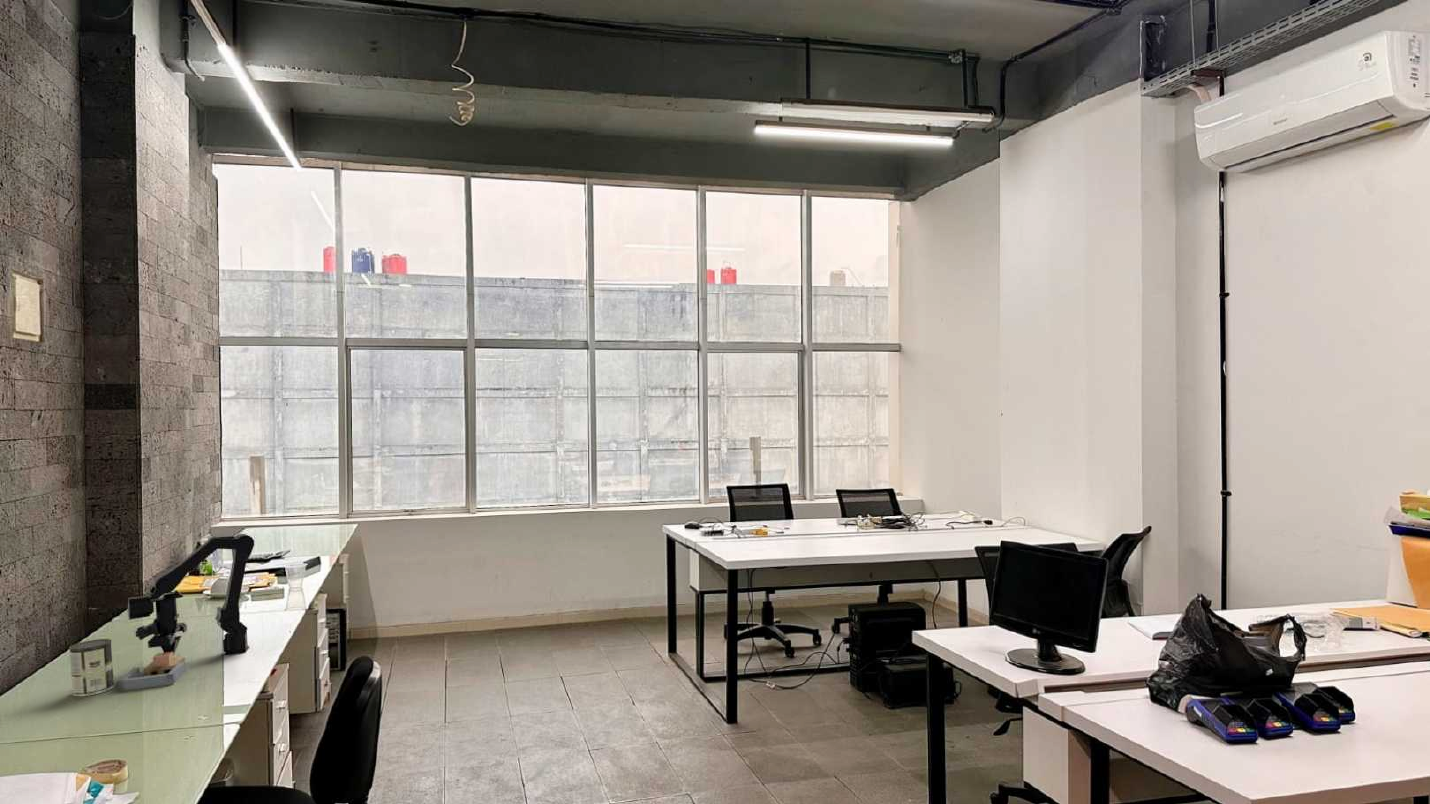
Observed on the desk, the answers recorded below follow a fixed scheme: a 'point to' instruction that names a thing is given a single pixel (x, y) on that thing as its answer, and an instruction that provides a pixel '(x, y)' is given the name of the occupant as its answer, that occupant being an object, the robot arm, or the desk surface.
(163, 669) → the pallet
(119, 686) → the dock
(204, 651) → the desk surface
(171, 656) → the salmon pink block
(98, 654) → the coffee can
